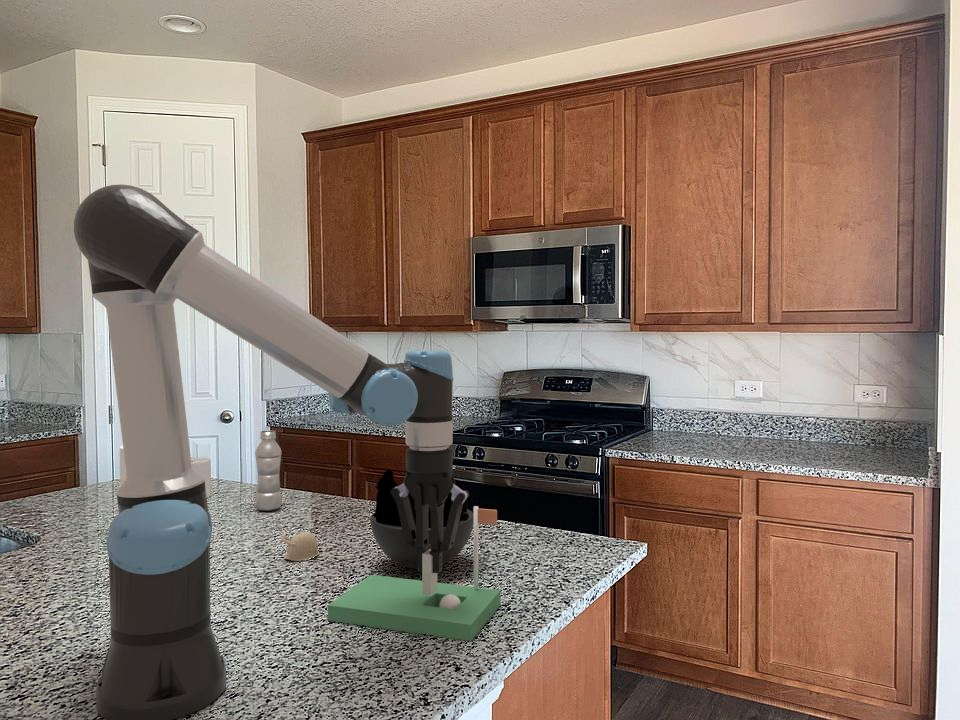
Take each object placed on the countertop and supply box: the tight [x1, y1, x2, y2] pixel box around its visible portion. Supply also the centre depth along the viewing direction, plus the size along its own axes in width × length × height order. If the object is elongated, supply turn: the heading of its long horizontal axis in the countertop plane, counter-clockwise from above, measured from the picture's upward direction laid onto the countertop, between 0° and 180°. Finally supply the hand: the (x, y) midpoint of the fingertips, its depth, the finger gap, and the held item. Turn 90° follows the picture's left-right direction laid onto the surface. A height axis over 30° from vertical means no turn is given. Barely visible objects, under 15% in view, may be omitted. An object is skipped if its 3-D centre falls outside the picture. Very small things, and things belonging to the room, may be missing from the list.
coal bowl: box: [369, 469, 474, 570], centre depth 142 cm, size 20×20×19 cm
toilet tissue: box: [191, 456, 212, 498], centre depth 200 cm, size 11×12×10 cm
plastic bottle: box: [254, 429, 283, 512], centre depth 186 cm, size 6×7×20 cm
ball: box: [439, 594, 461, 609], centre depth 118 cm, size 4×4×4 cm
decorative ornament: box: [280, 532, 320, 562], centre depth 147 cm, size 4×8×5 cm, turn 126°
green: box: [327, 505, 502, 642], centre depth 120 cm, size 15×24×16 cm, turn 72°
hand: (429, 591), depth 119 cm, fingers closed
